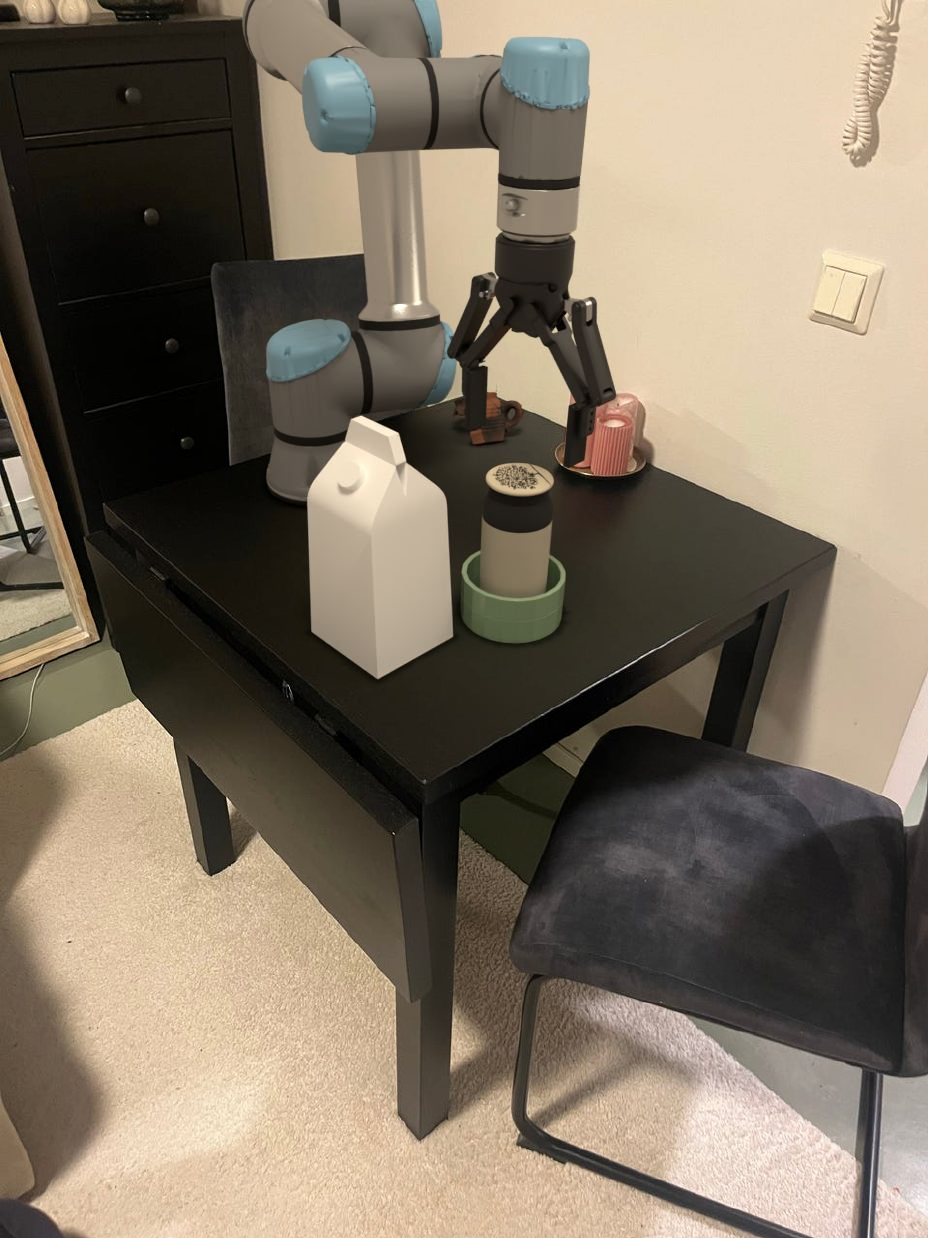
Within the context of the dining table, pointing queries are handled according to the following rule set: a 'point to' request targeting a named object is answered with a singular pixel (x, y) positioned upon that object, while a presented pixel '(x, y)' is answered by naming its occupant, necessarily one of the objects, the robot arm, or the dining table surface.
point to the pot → (511, 606)
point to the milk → (378, 553)
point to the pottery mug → (492, 418)
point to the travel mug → (516, 531)
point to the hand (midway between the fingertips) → (522, 444)
